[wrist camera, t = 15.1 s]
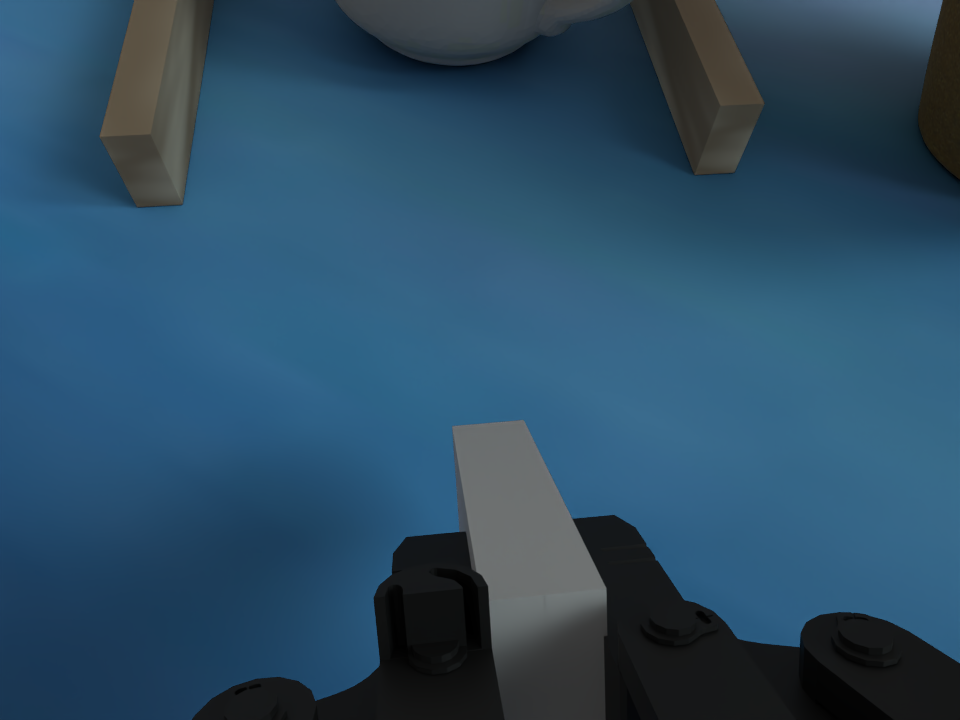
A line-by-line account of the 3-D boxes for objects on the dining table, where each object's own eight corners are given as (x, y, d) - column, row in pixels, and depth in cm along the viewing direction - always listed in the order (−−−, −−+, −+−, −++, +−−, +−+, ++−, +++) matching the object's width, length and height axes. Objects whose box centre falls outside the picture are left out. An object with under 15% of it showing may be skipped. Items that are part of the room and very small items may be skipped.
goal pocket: (629, -79, 35) (643, -148, 32) (734, 172, 26) (764, 103, 23) (191, -67, 33) (169, -138, 31) (137, 207, 24) (99, 137, 22)
